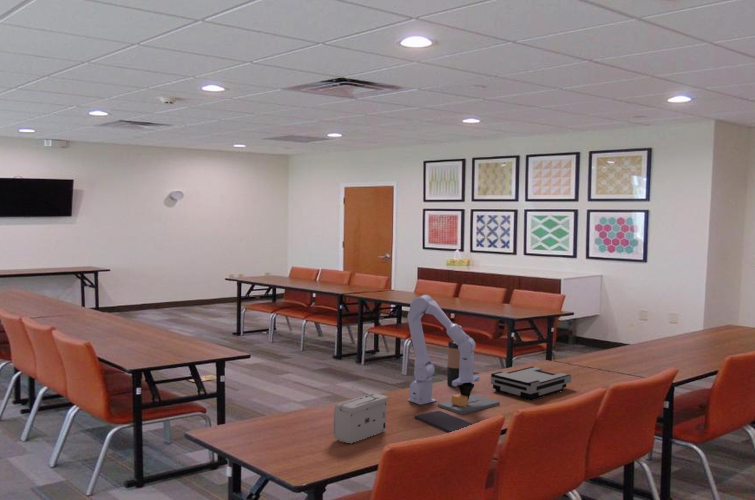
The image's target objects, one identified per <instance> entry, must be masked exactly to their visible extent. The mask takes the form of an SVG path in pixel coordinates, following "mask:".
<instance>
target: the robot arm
mask: <svg viewBox="0 0 755 500" xmlns="http://www.w3.org/2000/svg"><path fill="white" fill-rule="evenodd" d="M409 304H410V307H409V310H408V313H407V322H408V327H409V328H408V329H409V332H410V337H411V342H412V347H413V352H414V356H415V358H414V364H413V365H414V371H413V376H414V378H415V380H414V381H412V382H411V383H410V384H409V396H408V399H407V401H409V402H412V403H415V404H417V405H425V404H431V403H434V402H437V401H438V400H437V399H435V398H433V386H434V378H433V375H434V374H435V371H436V368H435V366H434V364H433V363H432V360H431V357H430V356H429V355H428V350H427V349H428V348H427V345H426V339H425V334H424V331H423V325H422V324H423V323H422V317H423V316H424V315H425V314H428V315H432V316H434V318H436V319H437V321H438V322H440V323H441V325H442V326H444V328H445V329H446V334H447V335H448V337H449V338H450V339H451V340H452V342H453V341H454V342H455V343H456V344H457V345H458V349H459V351H460V364H459V378H458V379H456V380H453V381H452V386H458V387H457V388H458V389H459V393H460V394H461V395H464V396H467V397H468V399H469V396H471V393H472V390H473V389H474V387H475V384H474V383H476V382H480V376H479V375H474V362H475V360H474V359H475V355H474V354H475V353H474V352H475V349H476V343H477V342H475V340H474V338H472V337H470V335H469V334H467V333H466V331H464V330H463V328H462V327H463V326H461V325H459V324H458V323H453V322H452V321H451V320H450V318H449V317H448V315H446V313H445V312H444V310H443V309H442V308H441V307H440V306H439V304H438V303H437V301H436V300H435V299H433V297H432V296H431V295H429V294H423V295H420V296H417V297H415V298H414V299H413V300H412V301H411V302H410V303H409Z"/></svg>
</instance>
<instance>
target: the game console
mask: <svg viewBox="0 0 755 500" xmlns="http://www.w3.org/2000/svg"><path fill="white" fill-rule="evenodd" d="M542 369H543V368H540V367H536V366H529V367H524V368H521V369H516V370H513V371H508V372H504V371H498V372H494V373H491V374H490V375H491V376H490V377H491V378H490V384H491V385H492V389H494V390H495V392H497V393H502V394H506V395H507V393H508V394H513V395H516V396H519V398H520V397H521V398H520V399H524V398H525V400H528V399H529V401H531V400H532V401H535V400H538V399H537V398H539V399H541V398H540V397H542V398H544V397H543V396H545V397H547V395H548V396H551V395H550V394H552V395H554V394H553V393H555V394H558V393H561V392H560V391H562V392H563V391H564V388H567V384H569V383H572V374H567V373H563V372H559V373H551V372H547V371H545V370H542ZM557 392H558V393H557ZM534 399H535V400H534Z"/></svg>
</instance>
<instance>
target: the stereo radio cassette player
mask: <svg viewBox="0 0 755 500" xmlns="http://www.w3.org/2000/svg"><path fill="white" fill-rule="evenodd" d="M351 389H354V390H356V391H357V392H360V393H362V394H364V395H362V396H358V397H355V398H351V399H349V400H346V401H342V402H339V403H335V405H334V412H333V416H334V417H333V438H334V439H335V440H340V441H344V442H348V443H353V442H355V443H357V442H356V441H358V442H360V441H359V440H361V441H363V440H366V439H368V438H367V437H369V438H370V436H371V437H373V435H374V436H376V435H378V434H382V433H384V432H385V431H386V428H387V404H388V402H389V397H388V395H387V396H386V395H383V394H380V393H376V392H371V393H367V392H364V391H362V390H361V389H359V388H357V387H356V388H355V387H353V386H351ZM381 432H382V433H381ZM365 438H366V439H365ZM362 439H363V440H362ZM340 441H339V442H340ZM344 442H343V443H344ZM353 444H354V443H353Z"/></svg>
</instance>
